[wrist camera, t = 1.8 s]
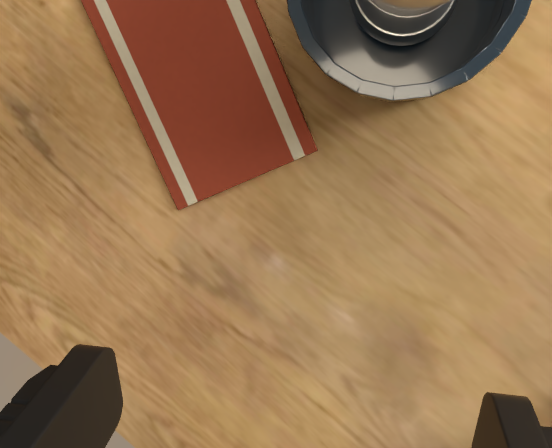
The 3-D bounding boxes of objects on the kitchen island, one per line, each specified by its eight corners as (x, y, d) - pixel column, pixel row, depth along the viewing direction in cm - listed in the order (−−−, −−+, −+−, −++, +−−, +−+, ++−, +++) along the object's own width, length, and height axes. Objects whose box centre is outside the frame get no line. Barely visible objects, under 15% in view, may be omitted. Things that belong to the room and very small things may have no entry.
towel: (66, -36, 37) (63, -37, 36) (204, -123, 33) (202, -126, 33) (179, 209, 39) (177, 210, 39) (317, 150, 36) (317, 150, 36)
